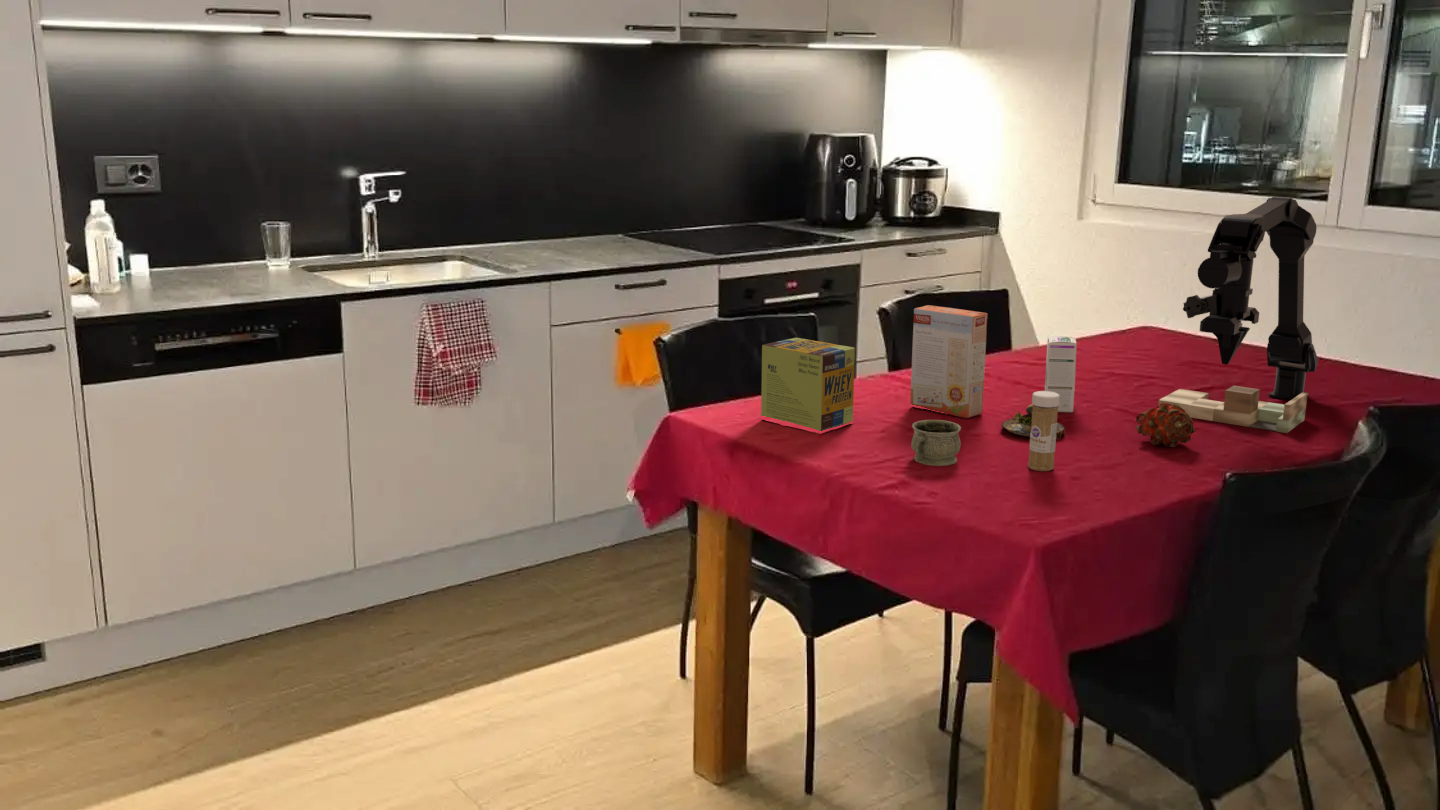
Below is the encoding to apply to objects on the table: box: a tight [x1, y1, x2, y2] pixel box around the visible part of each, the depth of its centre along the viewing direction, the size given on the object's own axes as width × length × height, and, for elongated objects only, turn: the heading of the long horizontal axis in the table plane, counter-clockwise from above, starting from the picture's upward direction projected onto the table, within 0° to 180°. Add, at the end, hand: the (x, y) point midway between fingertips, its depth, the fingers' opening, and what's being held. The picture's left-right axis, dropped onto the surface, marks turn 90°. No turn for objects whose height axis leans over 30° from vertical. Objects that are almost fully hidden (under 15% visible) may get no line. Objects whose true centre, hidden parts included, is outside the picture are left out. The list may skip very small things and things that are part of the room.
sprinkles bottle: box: [1027, 390, 1060, 472], centre depth 222 cm, size 5×5×13 cm
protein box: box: [760, 337, 856, 431], centre depth 250 cm, size 10×15×16 cm
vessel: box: [910, 419, 962, 467], centre depth 228 cm, size 12×9×6 cm
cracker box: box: [909, 304, 988, 419], centre depth 258 cm, size 14×6×21 cm, turn 47°
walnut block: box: [1223, 385, 1261, 414], centre depth 252 cm, size 5×5×4 cm
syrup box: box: [1044, 336, 1078, 413], centre depth 261 cm, size 6×6×14 cm
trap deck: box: [1157, 388, 1309, 434], centre depth 256 cm, size 12×25×6 cm, turn 51°
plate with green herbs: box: [1000, 403, 1066, 441], centre depth 244 cm, size 12×12×8 cm
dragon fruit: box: [1135, 403, 1197, 448], centre depth 237 cm, size 8×8×12 cm
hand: (1225, 364), depth 246 cm, fingers closed
